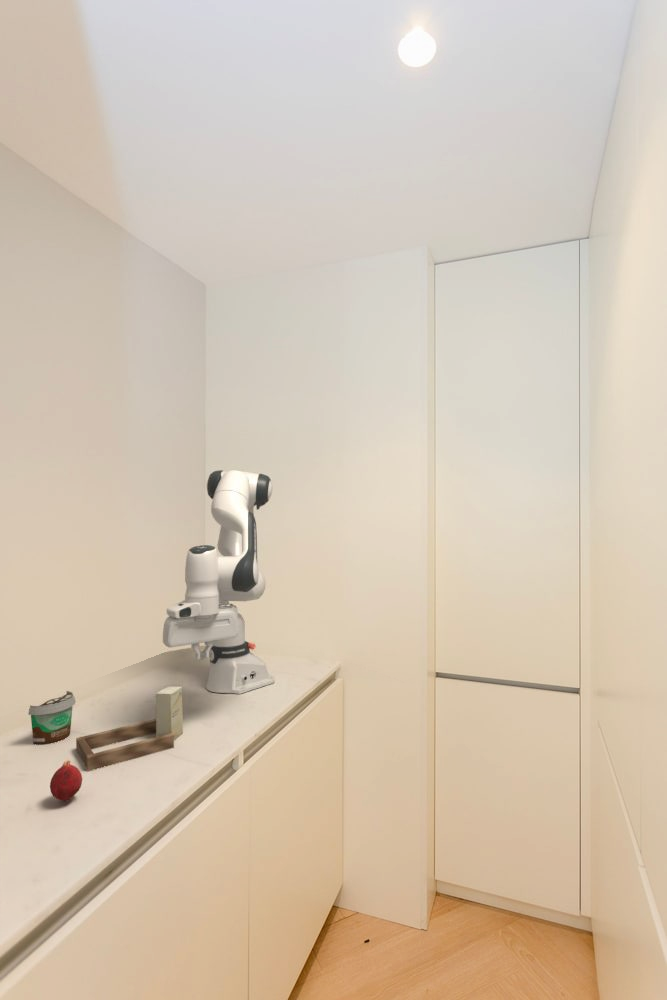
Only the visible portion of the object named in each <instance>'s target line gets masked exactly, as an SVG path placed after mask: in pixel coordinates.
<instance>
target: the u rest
mask: <svg viewBox="0 0 667 1000" xmlns="http://www.w3.org/2000/svg"><path fill="white" fill-rule="evenodd" d="M152 734H156V718H154V719H150V720H146V721H142V722H138V723H134V724H133V723H132V724H130V725H129V724H128V725H125V726H121V727H116V728H111V729H108V730H105V731H100V732H97V733H93V734H88V735H83V736H80V737H76V738H75V741H76V743H75V744H76V745H75V746H76V747H75V749H76V750H75V751H76V752H77V755H78V757H79V758H80V760H81V761H82V763H83V765H84V766H85V768H86V770H87V772H91V771H90V770H92V771H94V770H93V769H95V770H98V769H97V768H99V769H102V768H105V767H104V766H106V767H108V765H109V766H112V764H113V765H116V763H117V764H120V763H123V761H124V762H128V761H132V760H134V759H138V758H140V757H141V758H142V757H145V756H148V755H151V754H155V753H159V752H162V751H166V750H169V749H173V748H174V745H175V743H174V742H175V740H174V735H173V734H172V733H170V734H166V735H163V736H159V737H156V736H155V737H151V738H148V739H144V740H140V741H136V742H133V743H129V744H125V745H121V746H118V747H113V748H110V749H107V750H103V751H98V752H95V753H94V752H93V749H97V748H101V747H106V746H110V745H113V744H112V743H114V744H117V743H116V742H118V743H122V742H125V741H128V740H133V739H137V738H140V737H145V736H148V735H152ZM109 744H110V745H109ZM105 745H106V746H105ZM174 749H175V748H174ZM119 762H120V763H119ZM101 767H102V768H101Z"/></svg>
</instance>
